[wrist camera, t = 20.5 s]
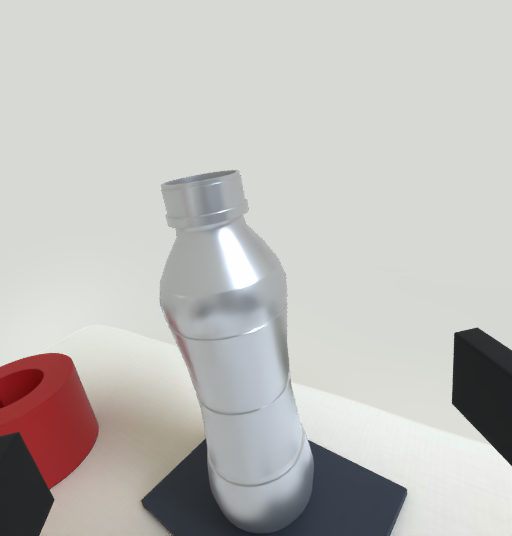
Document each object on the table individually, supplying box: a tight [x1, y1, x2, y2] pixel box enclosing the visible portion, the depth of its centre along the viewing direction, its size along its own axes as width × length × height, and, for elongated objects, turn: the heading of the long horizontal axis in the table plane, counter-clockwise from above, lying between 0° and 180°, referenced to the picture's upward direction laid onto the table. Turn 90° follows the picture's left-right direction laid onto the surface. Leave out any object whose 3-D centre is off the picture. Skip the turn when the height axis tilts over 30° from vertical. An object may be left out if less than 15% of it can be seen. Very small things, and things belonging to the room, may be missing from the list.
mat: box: [141, 439, 407, 536], centre depth 23 cm, size 14×10×1 cm
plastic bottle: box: [160, 170, 314, 533], centre depth 19 cm, size 6×7×20 cm
